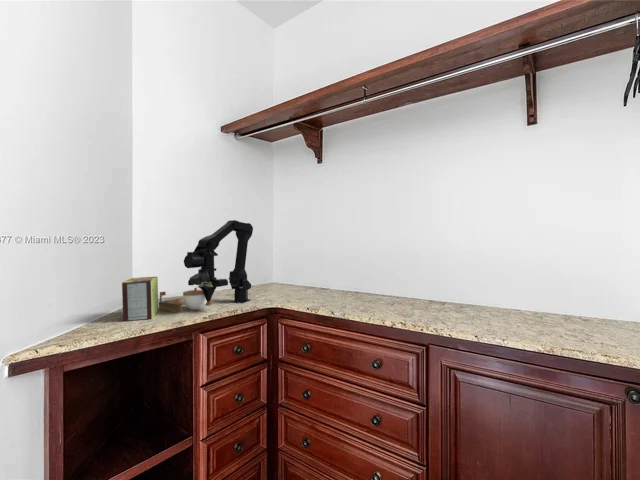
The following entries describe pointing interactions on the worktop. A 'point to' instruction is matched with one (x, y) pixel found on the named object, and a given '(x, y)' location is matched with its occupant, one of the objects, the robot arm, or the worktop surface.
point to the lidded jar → (194, 299)
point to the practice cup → (173, 304)
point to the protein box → (140, 298)
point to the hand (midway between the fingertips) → (208, 301)
